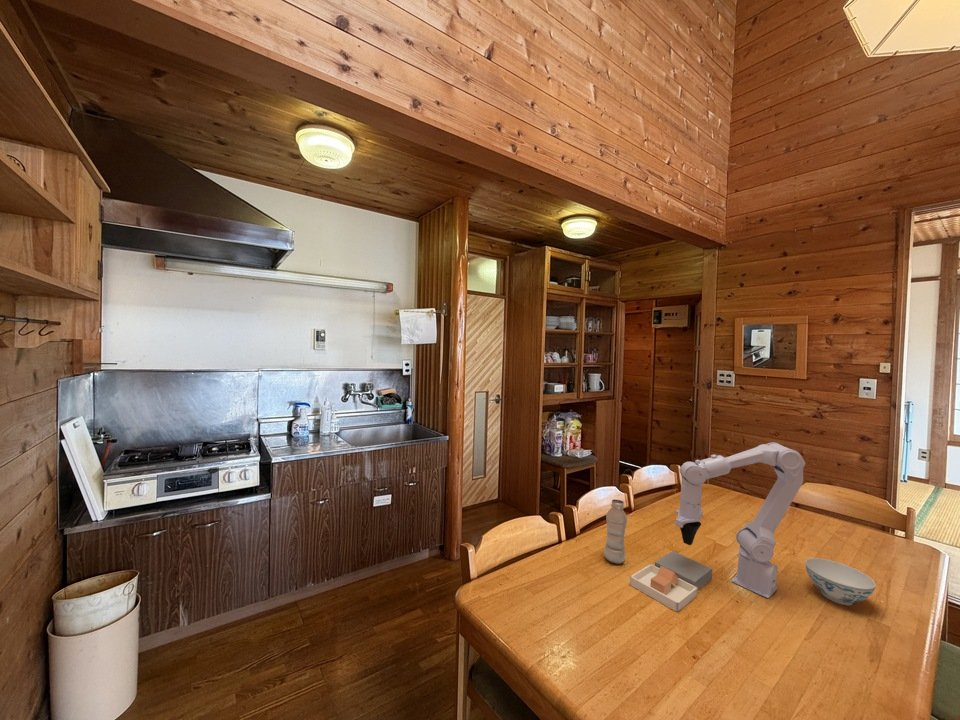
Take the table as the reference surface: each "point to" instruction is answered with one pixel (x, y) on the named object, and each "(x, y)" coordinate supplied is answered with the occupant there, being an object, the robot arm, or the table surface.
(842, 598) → the chinaware
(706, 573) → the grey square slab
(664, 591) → the terracotta block
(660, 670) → the table surface
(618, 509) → the plastic bottle
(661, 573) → the orange brown block
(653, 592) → the tray
